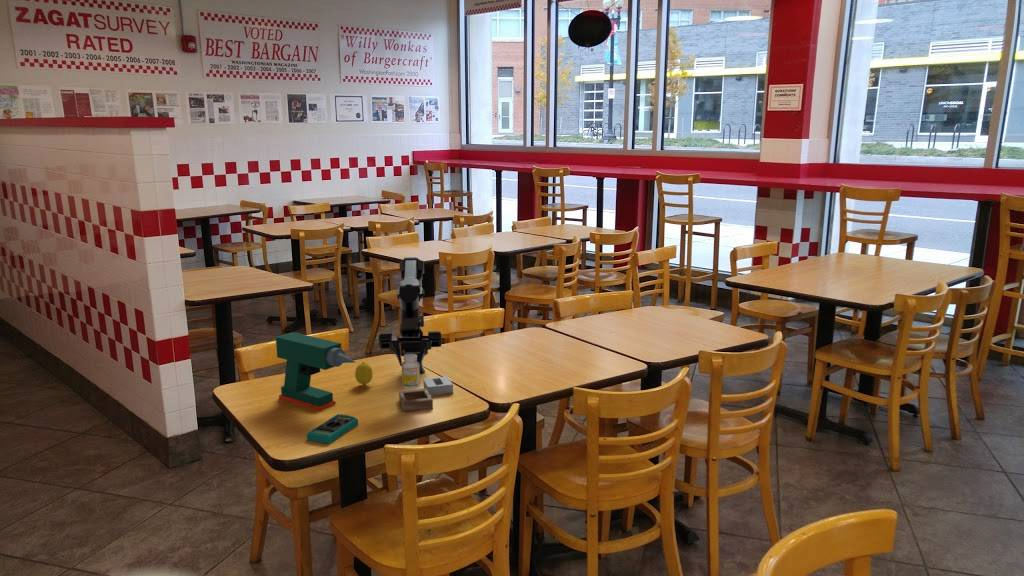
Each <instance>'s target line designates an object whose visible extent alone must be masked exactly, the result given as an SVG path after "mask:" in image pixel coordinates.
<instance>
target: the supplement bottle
mask: <svg viewBox="0 0 1024 576" xmlns="http://www.w3.org/2000/svg"><path fill="white" fill-rule="evenodd" d="M401 378H402V379H401V383H402V387H403V388H404V389H407V390H415V389H418V388H419V387H420V386H421V373H420V365H419V362H418V361H417V355H416V354H406V355H404V356H403V361H402V366H401Z"/></svg>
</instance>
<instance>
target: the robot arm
mask: <svg viewBox="0 0 1024 576" xmlns="http://www.w3.org/2000/svg"><path fill="white" fill-rule="evenodd" d="M424 264H425V263H424V260H421V259H419V257H416V256H413V257H412V256H411V257H408V256H407V257H403V260H399V264H398V265H399V275H401V279H402V280H401V281H400V283H399V287H397V293H396V297H397V298H396V299H397V300H399V307H400V326H399V328H400V329H399V332H400V333H399V334H400V336H398V335H393V333H392V332H380V333H379V334H378V344H379V348H380V349H381V350H389V351H391V352H393V353H394V355H395V357H396V359H397V360H398V364H399V366H400V367H402V363H403V361H402V357H404V355H406V354H416V355H417V361H418V362H419V365H420V374H425V373H426V370H425V369H424V368H423V360H424V359H425V356H427V355H428V354H429V350H432V348H440V347H442V332H441V331H439V330H433V331H432V330H430V331H427V334H428V335H424V332H423V331H422V329H421V328H423V327H425V316H424V315H420V302H421V299H423V298H424V297H425V290H424V288H423V287H422V286H421V282H422V280H423V275H424V274H425V265H424Z"/></svg>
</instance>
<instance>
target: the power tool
mask: <svg viewBox="0 0 1024 576" xmlns="http://www.w3.org/2000/svg"><path fill="white" fill-rule="evenodd" d="M275 346H276V357H277V358H279V359H282V360H286V362H285V363H286V364H285V374H284V382H283V385H281V386H280V392H281V394H278V398H279V399H280V400H283V401H286V402H289V403H293V404H295V405H298V406H302V407H306V408H308V409H312V410H315V411H318V412H319V411H320V412H321V411H323V410H325V409H328V408H330V407H333V406H335V405H337V401H336V400H334V395H333V392H331V391H329V390H324V389H320V388H317V387H313V386H311V378H312V376H313V375H315V374H318V373H321V370H324V371H326V370H329V369H332V368H335V367H336V368H337V367H340V366H342V365H343V364H349V363H352V364H353V363H356V360H354V359H352V358H351V357H349V356H347V355H346V353H345V351H344V350H343V349H342V343H341V342H337V341H332V340H328V339H324V338H320V337H315V336H312V335H307V334H302V333H299V332H298V333H297V332H294V331H293V332H289V333H286V334H282V335H277V336H275ZM334 404H335V405H334ZM332 405H333V406H332Z"/></svg>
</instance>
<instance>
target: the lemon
mask: <svg viewBox="0 0 1024 576" xmlns="http://www.w3.org/2000/svg"><path fill="white" fill-rule="evenodd" d="M354 377H355V380H356V382H358V384H361V385H363V387H365V386H366V385H367V384H369V383H370V382H371V381H372V379H373V369H372V366H371V365H370V364H369V363H367V362H364V361H363V362H361V363H359V364H358V365H357V366H356V368H355V373H354Z"/></svg>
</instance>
